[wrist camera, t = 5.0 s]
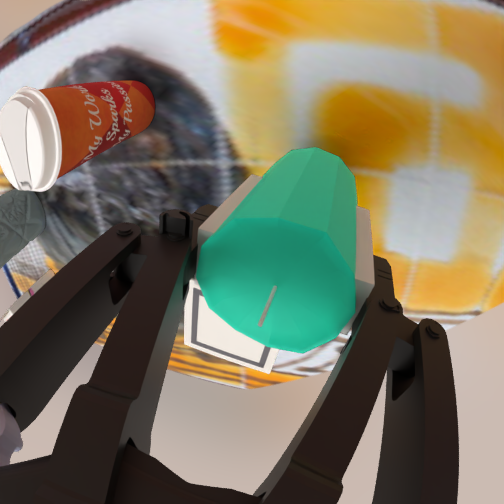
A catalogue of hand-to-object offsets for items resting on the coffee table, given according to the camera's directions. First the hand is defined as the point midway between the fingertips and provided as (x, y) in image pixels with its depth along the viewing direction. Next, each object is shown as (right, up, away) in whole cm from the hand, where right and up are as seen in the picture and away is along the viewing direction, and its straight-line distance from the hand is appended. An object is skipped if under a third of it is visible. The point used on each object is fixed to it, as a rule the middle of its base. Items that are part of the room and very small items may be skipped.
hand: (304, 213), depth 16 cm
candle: (+1, +2, +3) cm, 4 cm away
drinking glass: (-38, +5, +22) cm, 44 cm away
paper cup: (-14, +12, +9) cm, 21 cm away
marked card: (-5, -12, +22) cm, 25 cm away
